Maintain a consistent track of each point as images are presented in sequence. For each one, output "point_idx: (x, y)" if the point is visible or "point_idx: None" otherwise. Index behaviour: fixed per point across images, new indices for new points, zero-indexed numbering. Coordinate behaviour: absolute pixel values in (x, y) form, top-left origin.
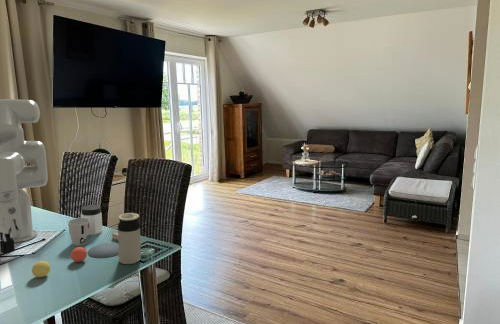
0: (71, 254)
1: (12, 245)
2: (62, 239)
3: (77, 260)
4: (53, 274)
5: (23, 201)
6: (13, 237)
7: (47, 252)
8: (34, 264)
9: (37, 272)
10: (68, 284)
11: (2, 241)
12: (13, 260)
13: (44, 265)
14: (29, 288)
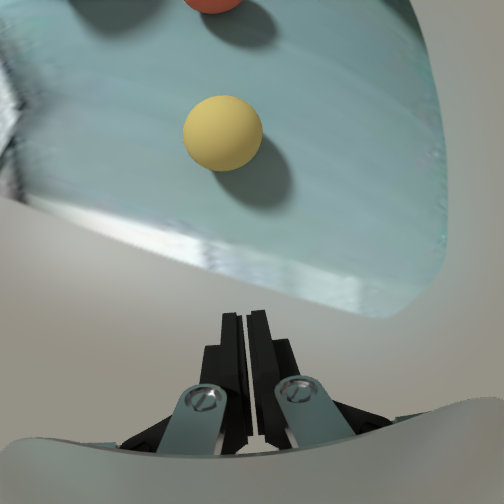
0: (206, 2)
1: (291, 353)
2: (17, 21)
3: (235, 6)
4: None
5: None
6: (327, 399)
7: (49, 66)
8: (205, 152)
9: (249, 160)
10: (363, 113)
11: (252, 434)
12: (23, 175)
13: (252, 123)
14: (284, 211)
